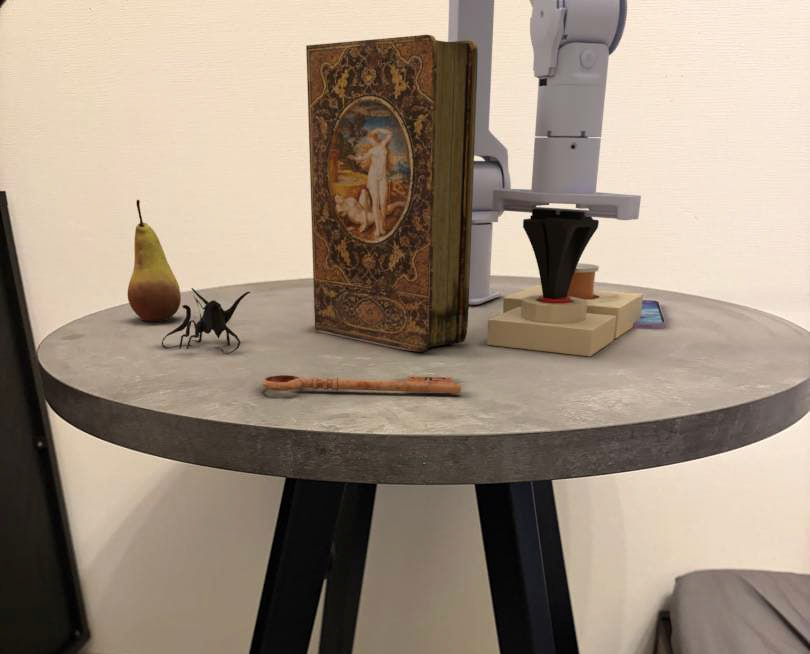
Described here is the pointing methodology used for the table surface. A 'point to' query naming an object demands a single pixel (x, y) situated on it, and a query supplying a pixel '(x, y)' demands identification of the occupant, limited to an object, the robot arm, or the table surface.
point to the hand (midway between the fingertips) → (554, 297)
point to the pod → (583, 281)
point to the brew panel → (552, 327)
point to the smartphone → (650, 316)
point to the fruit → (152, 278)
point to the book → (392, 188)
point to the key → (364, 384)
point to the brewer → (595, 305)
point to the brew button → (554, 300)
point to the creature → (208, 321)
